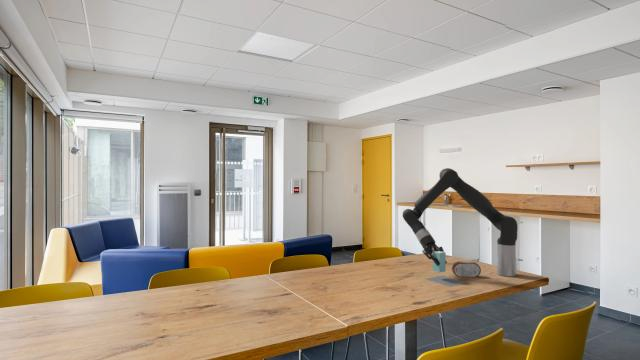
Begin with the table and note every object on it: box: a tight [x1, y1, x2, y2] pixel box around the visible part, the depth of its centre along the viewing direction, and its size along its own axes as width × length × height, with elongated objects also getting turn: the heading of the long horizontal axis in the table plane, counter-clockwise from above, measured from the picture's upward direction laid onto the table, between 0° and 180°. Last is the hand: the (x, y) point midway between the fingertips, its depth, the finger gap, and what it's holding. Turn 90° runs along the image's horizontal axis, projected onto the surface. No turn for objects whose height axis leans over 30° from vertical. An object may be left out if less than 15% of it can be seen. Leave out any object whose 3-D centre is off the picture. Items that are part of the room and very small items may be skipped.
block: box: [432, 251, 447, 273], centre depth 195 cm, size 4×4×10 cm
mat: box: [425, 275, 469, 287], centre depth 191 cm, size 14×17×1 cm
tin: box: [451, 261, 482, 278], centre depth 201 cm, size 15×3×8 cm, turn 84°
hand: (442, 264), depth 193 cm, fingers closed on block, 4 cm apart
